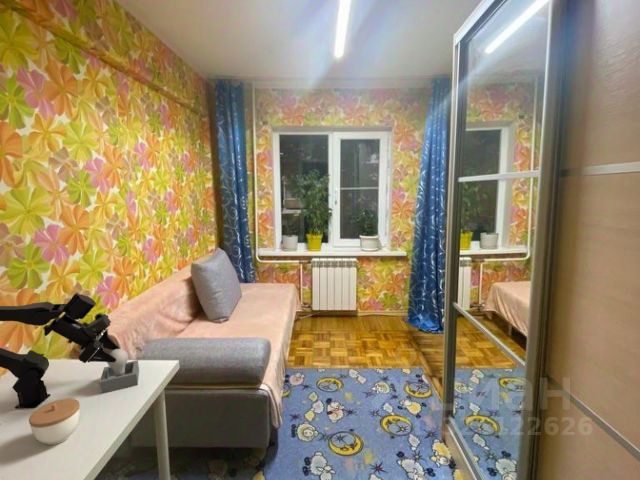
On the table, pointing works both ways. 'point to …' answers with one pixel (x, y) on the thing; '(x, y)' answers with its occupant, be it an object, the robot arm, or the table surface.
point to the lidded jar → (55, 421)
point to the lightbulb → (118, 361)
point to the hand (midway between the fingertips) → (117, 354)
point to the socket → (119, 378)
